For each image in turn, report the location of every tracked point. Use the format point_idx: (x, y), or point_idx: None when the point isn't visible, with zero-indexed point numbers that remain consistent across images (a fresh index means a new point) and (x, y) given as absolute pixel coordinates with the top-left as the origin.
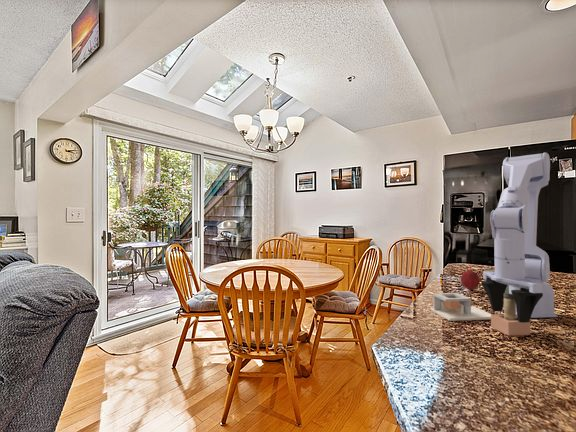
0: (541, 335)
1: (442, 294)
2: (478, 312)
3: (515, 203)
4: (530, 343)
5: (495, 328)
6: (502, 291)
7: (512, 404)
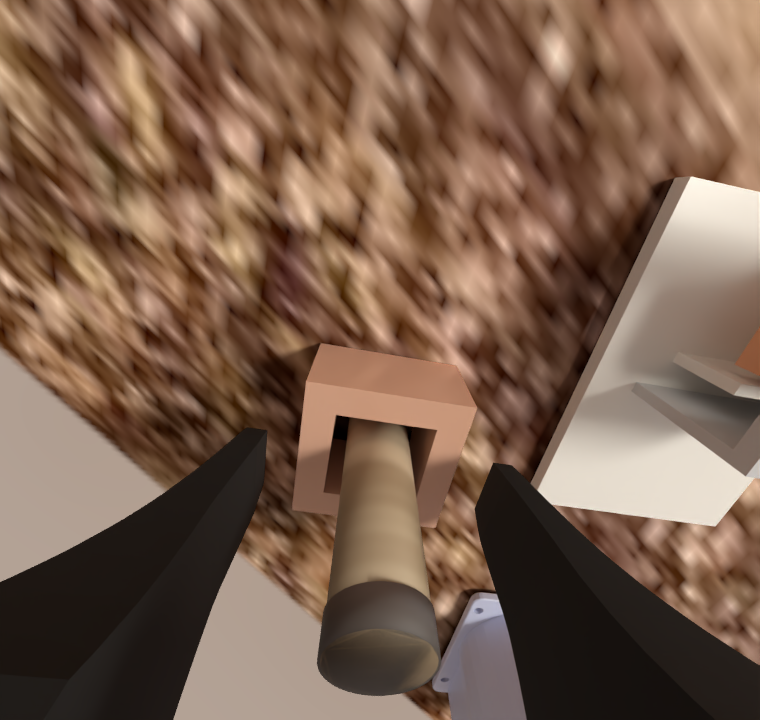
0: (291, 490)
1: None
2: (634, 470)
3: None
4: (207, 357)
5: (422, 361)
6: (535, 699)
7: None
